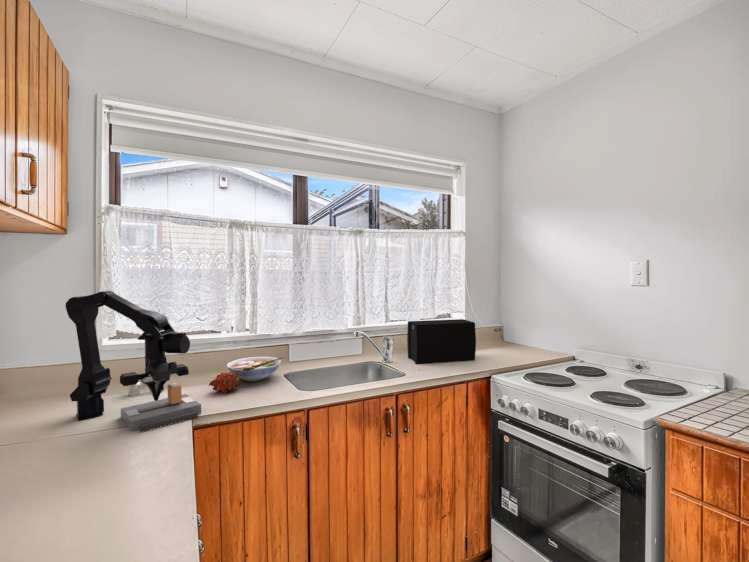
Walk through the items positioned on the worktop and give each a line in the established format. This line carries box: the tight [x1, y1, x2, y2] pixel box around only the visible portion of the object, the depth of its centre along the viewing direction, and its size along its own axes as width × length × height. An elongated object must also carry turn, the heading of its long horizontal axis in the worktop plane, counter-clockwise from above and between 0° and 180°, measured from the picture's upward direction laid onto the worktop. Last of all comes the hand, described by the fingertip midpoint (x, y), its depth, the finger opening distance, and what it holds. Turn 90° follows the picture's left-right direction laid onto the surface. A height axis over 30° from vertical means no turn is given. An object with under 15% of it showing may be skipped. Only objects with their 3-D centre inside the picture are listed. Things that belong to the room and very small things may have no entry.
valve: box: [127, 380, 165, 397], centre depth 146 cm, size 7×7×12 cm
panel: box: [120, 393, 202, 432], centre depth 123 cm, size 20×15×3 cm
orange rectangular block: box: [167, 382, 182, 404], centre depth 126 cm, size 3×4×6 cm
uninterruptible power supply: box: [406, 318, 477, 365], centre depth 197 cm, size 16×34×20 cm, turn 102°
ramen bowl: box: [226, 356, 285, 382], centre depth 163 cm, size 25×23×8 cm
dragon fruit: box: [208, 370, 242, 394], centre depth 147 cm, size 8×8×12 cm
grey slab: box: [139, 411, 199, 433], centre depth 123 cm, size 16×20×2 cm
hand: (156, 400), depth 122 cm, fingers closed
